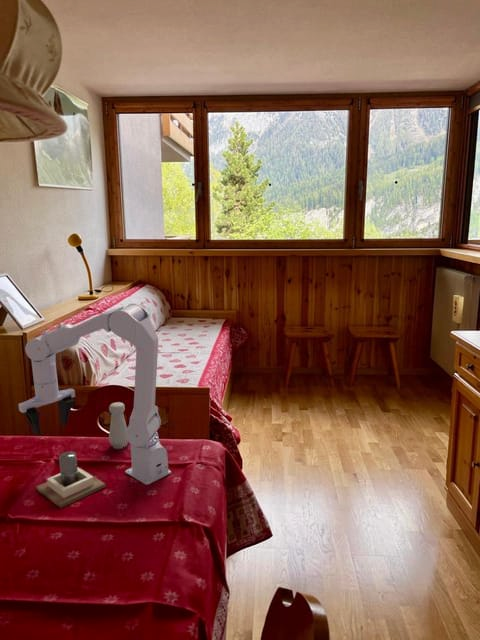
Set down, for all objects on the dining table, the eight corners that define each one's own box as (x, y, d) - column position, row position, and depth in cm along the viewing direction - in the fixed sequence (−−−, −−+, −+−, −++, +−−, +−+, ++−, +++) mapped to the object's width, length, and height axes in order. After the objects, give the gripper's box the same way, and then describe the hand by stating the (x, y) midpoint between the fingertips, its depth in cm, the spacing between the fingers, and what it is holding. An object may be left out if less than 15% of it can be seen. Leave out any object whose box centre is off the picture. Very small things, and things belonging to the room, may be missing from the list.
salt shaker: (127, 450, 143) (124, 407, 140) (107, 450, 143) (103, 407, 140) (131, 441, 149) (129, 399, 146) (112, 441, 149) (109, 400, 146)
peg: (81, 484, 124) (78, 455, 122) (66, 491, 122) (62, 461, 120) (74, 478, 127) (71, 449, 125) (59, 484, 124) (56, 455, 123)
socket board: (105, 486, 125) (104, 476, 124) (60, 508, 116) (59, 497, 115) (80, 470, 133) (79, 460, 132) (36, 489, 124) (35, 479, 123)
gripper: (63, 370, 138) (68, 416, 141) (11, 384, 128) (17, 434, 131) (77, 376, 134) (81, 423, 137) (23, 391, 123) (29, 442, 126)
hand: (51, 429), depth 133 cm, fingers open, 7 cm apart
